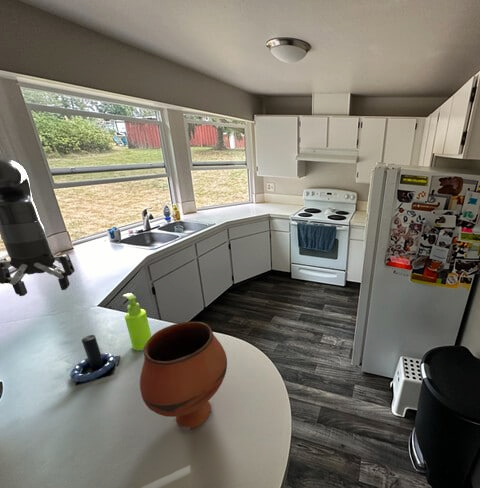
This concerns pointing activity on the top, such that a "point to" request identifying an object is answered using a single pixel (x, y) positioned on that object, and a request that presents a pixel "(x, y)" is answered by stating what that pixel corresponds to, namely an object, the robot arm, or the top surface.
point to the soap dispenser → (137, 323)
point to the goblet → (182, 372)
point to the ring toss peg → (95, 359)
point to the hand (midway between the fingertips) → (44, 291)
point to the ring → (79, 377)
